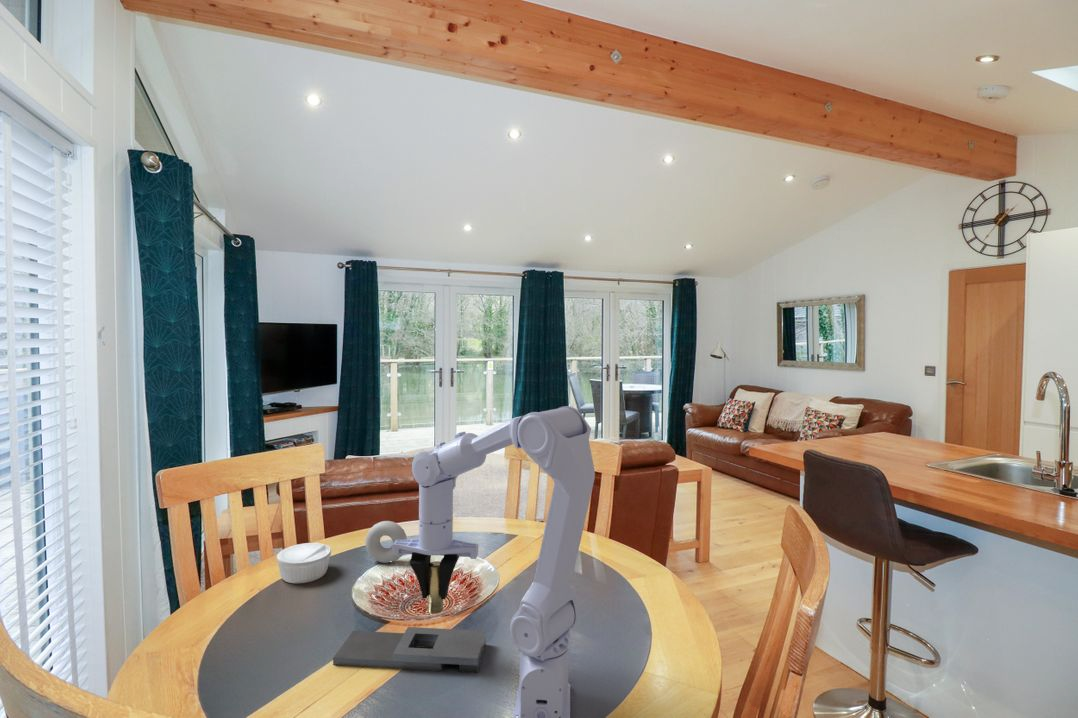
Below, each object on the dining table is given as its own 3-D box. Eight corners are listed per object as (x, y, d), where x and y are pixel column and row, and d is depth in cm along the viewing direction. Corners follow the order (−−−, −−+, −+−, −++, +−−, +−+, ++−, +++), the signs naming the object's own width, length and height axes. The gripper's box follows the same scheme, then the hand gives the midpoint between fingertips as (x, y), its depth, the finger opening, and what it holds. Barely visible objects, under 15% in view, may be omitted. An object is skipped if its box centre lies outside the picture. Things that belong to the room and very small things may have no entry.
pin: (440, 614, 90) (440, 568, 90) (425, 612, 90) (425, 567, 90) (445, 606, 93) (445, 561, 92) (430, 605, 93) (431, 560, 93)
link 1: (440, 670, 86) (441, 663, 86) (333, 664, 87) (333, 657, 87) (452, 642, 94) (452, 635, 94) (353, 637, 95) (353, 630, 95)
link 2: (477, 672, 85) (477, 658, 85) (392, 668, 86) (392, 653, 86) (485, 644, 93) (485, 630, 93) (407, 640, 94) (407, 626, 94)
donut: (409, 560, 127) (409, 519, 127) (404, 566, 124) (404, 524, 124) (368, 558, 128) (368, 518, 128) (363, 564, 125) (363, 523, 124)
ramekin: (331, 582, 116) (331, 558, 116) (274, 590, 112) (274, 565, 112) (331, 561, 126) (331, 539, 126) (279, 568, 122) (279, 545, 122)
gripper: (481, 512, 94) (480, 587, 95) (402, 509, 95) (401, 583, 96) (474, 526, 87) (473, 607, 88) (388, 523, 88) (387, 602, 89)
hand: (435, 596), depth 91 cm, fingers closed on pin, 3 cm apart
